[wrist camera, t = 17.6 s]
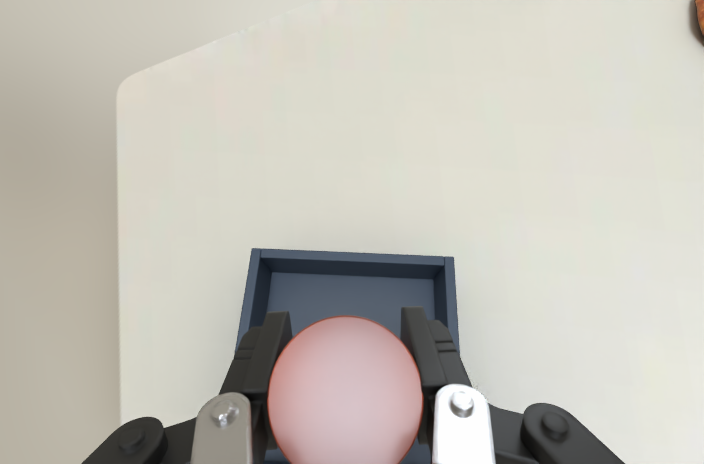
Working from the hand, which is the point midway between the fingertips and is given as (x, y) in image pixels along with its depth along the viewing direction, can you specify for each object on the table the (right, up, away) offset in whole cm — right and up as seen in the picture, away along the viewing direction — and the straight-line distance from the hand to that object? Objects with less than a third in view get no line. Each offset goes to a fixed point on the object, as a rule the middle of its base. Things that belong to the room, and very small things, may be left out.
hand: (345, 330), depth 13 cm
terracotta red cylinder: (0, -4, +5) cm, 6 cm away
